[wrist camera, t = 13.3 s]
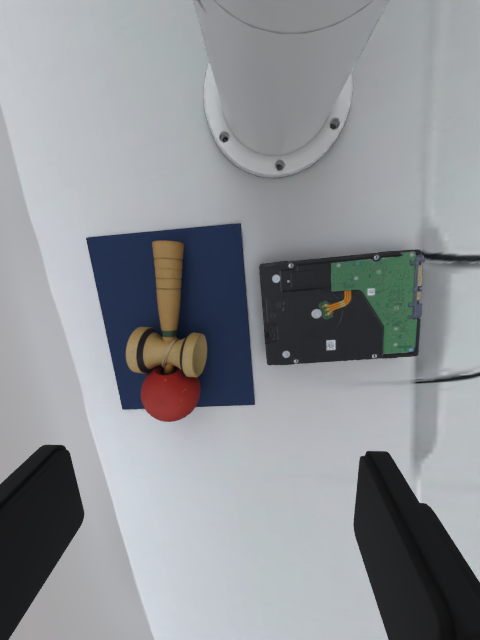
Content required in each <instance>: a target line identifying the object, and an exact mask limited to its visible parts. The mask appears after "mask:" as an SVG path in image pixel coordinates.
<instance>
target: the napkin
mask: <svg viewBox="0 0 480 640" xmlns="http://www.w3.org/2000/svg"><path fill="white" fill-rule="evenodd" d="M86 240H87V244H88V249H89V254H90V258H91V263H92V268H93V272H94V277H95V282H96V287H97V291H98V296H99V301H100V305H101V310H102V315H103V320H104V324H105V329H106V334H107V338H108V343H109V348H110V352H111V357H112V362H113V367H114V371H115V376H116V381H117V385H118V390H119V395H120V400H121V404H122V409H145V408H144V406H143V403H142V400H141V388H142V384H143V382H144V380H145V378H146V376H147V375H148V374H149V373H146V374H143V373H136V372H133V371H131V369H130V368H129V367H128V364H127V361H126V347H127V343H128V340H129V338H130V336H131V334H132V333H133V331H134V330H135V329H137V328H138V327H153V328H154V329H155V330H156V331H157V332H158V333H159V335H160V336H161V337H163V335H162V330H161V324H160V318H159V311H158V303H157V287H156V277H155V265H154V260H155V259H154V256H153V247H152V242H154V241H159V240H161V241H162V240H166V241H176V242H181V243H183V244H184V250H183V259H182V278H181V288H180V289H181V300H180V312H179V320H178V327H177V334H176V338H178V339H179V340H181V339H184V338H186V337H187V336H188V335H189V334H191V333H193V332H195V333H201V334H204V336H205V338H206V342H207V358H206V363H205V366H204V369H203V371H202V373H201V374H200V375H199V376H198V380H199V383H200V397H199V401H198V403H197V405H196V407H205V406H232V405H255V402H254V389H253V376H252V364H251V351H250V338H249V325H248V313H247V300H246V287H245V274H244V262H243V249H242V236H241V224H240V223H238V224H227V225H217V226H206V227H196V228H185V229H174V230H164V231H153V232H143V233H132V234H121V235H111V236H100V237H89V238H86Z"/></svg>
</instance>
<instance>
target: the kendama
mask: <svg viewBox="0 0 480 640" xmlns="http://www.w3.org/2000/svg"><path fill="white" fill-rule="evenodd" d="M152 247H153V256H154V259H155V260H154V265H155V277H156V287H157V303H158V311H159V318H160V324H161V330H162V335H163V337H161V336H160V335H159V333H158V332H157V331H156V330H155V329H154V328H153V327H138V328H137V329H135V330H134V331H133V333H132V334H131V336H130V338H129V340H128V343H127V347H126V361H127V364H128V367H129V368H130V369H131V371H133V372H136V373H143V374H146V373H149V374H148V375H147V376H146V378H145V380H144V382H143V384H142V388H141V400H142V403H143V406H144V408H145V409H146V411H147V412H148V413H149V414H150V415H151V416H152V417H154V418H156V419H158V420H160V421H166V422H171V421H177V420H180V419H182V418H184V417H186V416H187V415H189V414H190V413H191V412H192V411H193V410H194V408H195V407H196V405H197V403H198V401H199V397H200V383H199V380H198V376H199V375H200V374H201V373H202V371H203V369H204V366H205V363H206V358H207V342H206V338H205V336H204V334H201V333H195V332H193V333H191V334H189V335H188V336H187V337H186V338H184V339H181V340H179V339H178V338H176V334H177V327H178V320H179V312H180V300H181V289H180V288H181V278H182V259H183V250H184V244H183V243H181V242H176V241H166V240H162V241H161V240H159V241H154V242H152Z"/></svg>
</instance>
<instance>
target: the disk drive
mask: <svg viewBox="0 0 480 640" xmlns="http://www.w3.org/2000/svg"><path fill="white" fill-rule="evenodd" d="M424 261H425V260H424V256H423V255H421V251H420V250H404V251H387V252H379V253H371V254H362V255H351V256H341V257H331V258H321V259H310V260H300V261H290V262H288V261H284V262H274V263H266V264H261V265H260V266H259V270H260V283H261V294H262V308H263V320H264V332H265V345H266V357H267V364H268V365H291V364H295V363H296V364H300V363H316V362H331V361H347V360H363V359H377V358H397V357H411V356H417V355H418V353H419V337H420V321H421V319H420V318H421V315H422V304H420V303H419V301H420V300H421V291H422V290H420V287H422V269H423V265H421V262H424Z"/></svg>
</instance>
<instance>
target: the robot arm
mask: <svg viewBox="0 0 480 640" xmlns="http://www.w3.org/2000/svg"><path fill="white" fill-rule="evenodd" d="M388 1H389V0H193V2H194V5H195V9H196V13H197V17H198V20H199V24H200V28H201V31H202V35H203V39H204V43H205V46H206V50H207V54H208V57H209V63H208V66H207V69H206V74H205V81H204V107H205V113H206V118H207V122H208V124H209V127H210V130H211V133H212V135H213V137H214V139H215V141H216V143H217V145H218V146H219V148H220V149H221V150H222V152H223V153H224V155H225V156H226V157H227V158H228V159H229V160H230V161H231V162H232V163H234V164H235V165H236V166H238V167H239V168H241V169H242V170H244V171H246V172H248V173H251V174H254V175H256V176H261V177H268V178H276V177H285V176H289V175H293V174H296V173H298V172H300V171H302V170H304V169H306V168H308V167H310V166H311V165H312V164H314V163H315V162H316V161H318V160H319V159H320V158H321V157H322V156H323V155H324V154H325V153H326V152H327V151H328V150H329V148H330V147H331V146H332V144H333V143H334V141H335V140H336V139H337V137H338V135H339V133H340V132H341V130H342V128H343V126H344V124H345V121H346V118H347V115H348V112H349V110H350V105H351V99H352V94H353V72H352V70H353V68H354V66H355V64H356V62H357V60H358V58H359V56H360V55H361V53H362V51H363V49H364V47H365V45H366V43H367V41H368V39H369V37H370V36H371V34H372V32H373V30H374V28H375V26H376V24H377V22H378V20H379V18H380V17H381V15H382V13H383V11H384V9H385V7H386V5H387V3H388ZM330 125H333V126H334V127H335V129H331V128H330ZM224 138H227V139H228V141H227V142H225V143H224V142H223V139H224ZM278 165H281V166H282V169H281V170H278V169H277V166H278ZM83 518H84V510H83V505H82V501H81V497H80V493H79V489H78V485H77V481H76V477H75V473H74V469H73V464H72V460H71V456H70V453H69V451H68V450H66V448H65V447H64V446H63V445H43V446H42V447H40V448H39V449H38V450H37V451H36V452H35V453H33V454H32V455H31V456H30V457H29V458H28V459H27V460H26V461H25V462H24V463H23V464H22V465H21V466H19V468H17V469H16V470H15V471H14V472H13V473H12V474H11V475H10V476H9V477H8V478H7V479H6V480H4V481H3V482H2V483H1V484H0V640H9V638H10V636H11V635H12V633H13V632H14V630H15V629H16V627H17V625H18V624H19V622H20V621H21V619H22V618H23V616H24V614H25V613H26V611H27V610H28V608H29V607H30V605H31V603H32V602H33V600H34V598H35V597H36V595H37V594H38V592H39V591H40V589H41V588H42V586H43V584H44V583H45V581H46V580H47V578H48V577H49V575H50V573H51V572H52V570H53V568H54V567H55V565H56V564H57V562H58V561H59V559H60V558H61V556H62V554H63V553H64V551H65V550H66V548H67V547H68V545H69V543H70V542H71V540H72V539H73V537H74V536H75V534H76V532H77V531H78V529H79V528H80V526H81V524H82V522H83ZM354 532H355V536H356V540H357V543H358V546H359V549H360V552H361V555H362V558H363V562H364V565H365V568H366V571H367V574H368V577H369V580H370V583H371V586H372V589H373V593H374V596H375V599H376V602H377V605H378V608H379V611H380V614H381V617H382V620H383V624H384V627H385V630H386V633H387V636H388V639H389V640H480V582H479V581H478V579H477V578H476V576H475V575H474V573H473V571H472V570H471V568H470V567H469V565H468V564H467V562H466V561H465V559H464V558H463V556H462V554H461V553H460V551H459V550H458V548H457V547H456V545H455V544H454V542H453V540H452V539H451V537H450V536H449V534H448V533H447V531H446V530H445V528H444V526H443V525H442V523H441V522H440V520H439V519H438V517H437V516H436V514H435V513H434V511H433V510H432V509H431V507H429V506H428V505H427V504H424V503H419V501H418V500H417V498H416V496H415V495H414V493H413V491H412V490H411V488H410V487H409V485H408V483H407V482H406V480H405V478H404V477H403V475H402V473H401V472H400V470H399V469H398V467H397V465H396V464H395V462H394V460H393V459H392V457H391V455H390V454H389V453H388V452H384V451H367V452H366V455H365V456H361V457H360V462H359V472H358V483H357V493H356V504H355V514H354Z"/></svg>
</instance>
